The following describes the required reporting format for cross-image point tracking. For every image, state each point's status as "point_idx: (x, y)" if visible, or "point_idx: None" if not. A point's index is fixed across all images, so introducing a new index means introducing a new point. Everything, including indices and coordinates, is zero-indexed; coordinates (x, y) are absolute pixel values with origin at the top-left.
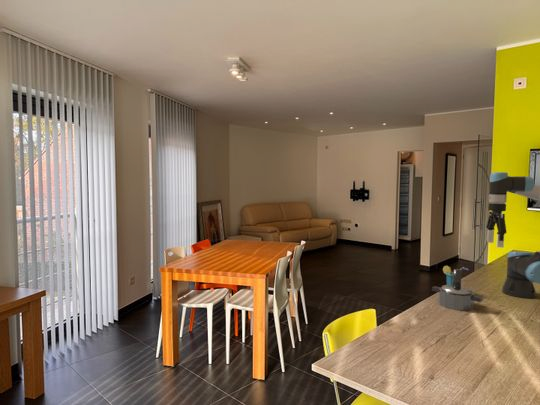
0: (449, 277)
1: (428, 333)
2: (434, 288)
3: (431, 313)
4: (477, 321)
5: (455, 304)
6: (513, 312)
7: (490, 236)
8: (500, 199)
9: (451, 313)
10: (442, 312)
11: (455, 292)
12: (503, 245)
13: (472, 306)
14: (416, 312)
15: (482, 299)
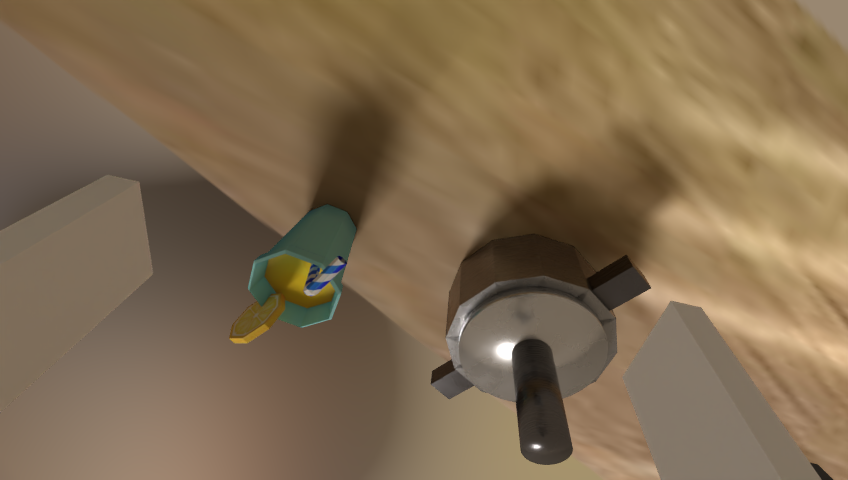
0: (325, 305)
1: None
2: (457, 391)
3: (609, 411)
4: (728, 311)
5: None
6: (665, 73)
7: (36, 323)
8: None
9: (621, 356)
10: (605, 378)
11: (589, 381)
12: (719, 338)
13: (585, 264)
14: (592, 444)
15: (630, 260)
